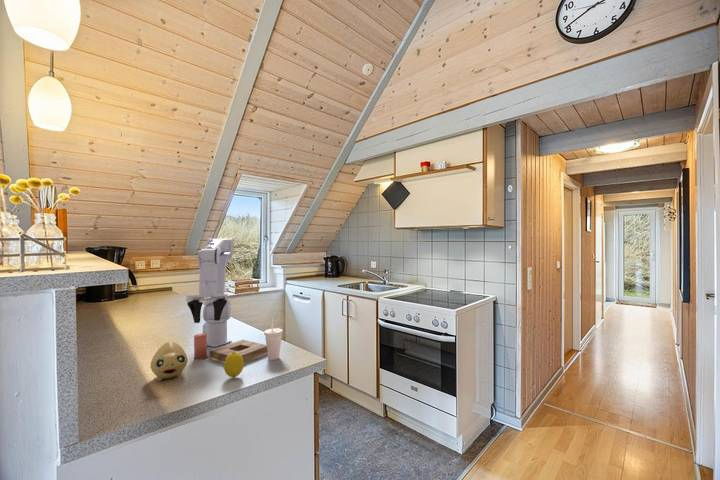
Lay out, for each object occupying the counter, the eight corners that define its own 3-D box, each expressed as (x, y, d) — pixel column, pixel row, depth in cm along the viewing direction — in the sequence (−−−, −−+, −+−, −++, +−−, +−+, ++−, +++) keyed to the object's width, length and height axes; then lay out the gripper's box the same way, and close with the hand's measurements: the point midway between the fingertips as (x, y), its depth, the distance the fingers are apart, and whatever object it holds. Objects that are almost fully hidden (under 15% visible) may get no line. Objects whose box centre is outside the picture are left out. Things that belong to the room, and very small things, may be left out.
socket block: (209, 358, 114) (209, 350, 114) (242, 347, 126) (242, 339, 126) (235, 366, 107) (235, 357, 107) (268, 353, 119) (268, 345, 119)
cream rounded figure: (150, 390, 91) (149, 352, 91) (150, 375, 101) (150, 341, 101) (189, 381, 96) (189, 345, 96) (186, 368, 106) (186, 335, 106)
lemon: (232, 383, 95) (231, 356, 94) (220, 379, 97) (220, 352, 97) (247, 376, 99) (247, 350, 99) (236, 372, 102) (235, 347, 102)
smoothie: (260, 359, 113) (260, 319, 113) (273, 353, 119) (272, 315, 119) (274, 362, 110) (274, 321, 110) (286, 356, 116) (286, 317, 116)
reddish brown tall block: (191, 358, 115) (191, 335, 115) (202, 354, 118) (202, 333, 118) (198, 360, 113) (198, 337, 113) (209, 356, 116) (208, 334, 116)
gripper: (195, 281, 107) (194, 324, 104) (233, 281, 119) (232, 319, 117) (183, 282, 110) (181, 323, 108) (220, 282, 122) (220, 319, 120)
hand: (207, 321), depth 113 cm, fingers open, 7 cm apart
